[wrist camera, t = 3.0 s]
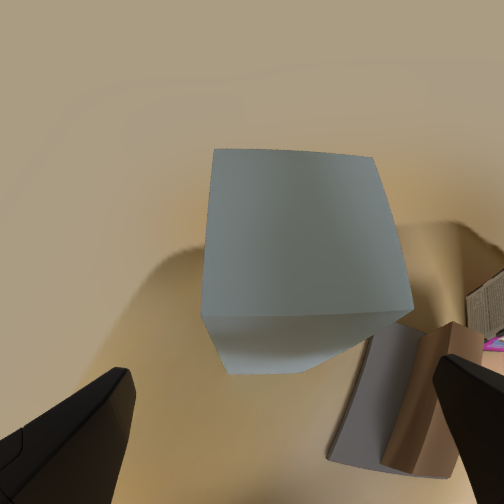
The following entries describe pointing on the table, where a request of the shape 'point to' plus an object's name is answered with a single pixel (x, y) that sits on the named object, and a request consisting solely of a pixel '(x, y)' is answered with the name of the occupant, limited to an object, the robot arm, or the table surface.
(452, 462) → the ridge
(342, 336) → the block
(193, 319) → the table surface
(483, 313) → the candy bar box
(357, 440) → the mat
